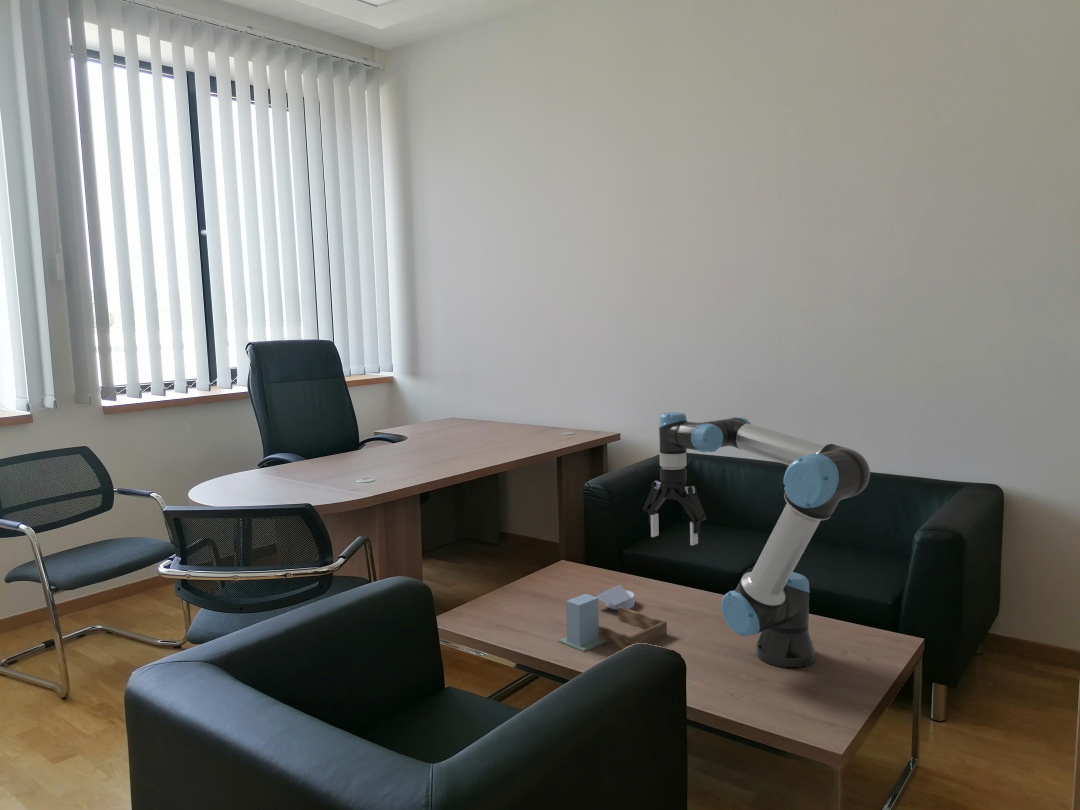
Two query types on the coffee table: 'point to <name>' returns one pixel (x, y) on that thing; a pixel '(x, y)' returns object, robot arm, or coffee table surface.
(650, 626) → the shelf bay
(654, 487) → the robot arm
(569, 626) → the block
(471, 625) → the coffee table surface
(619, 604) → the wedge on round base
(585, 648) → the felt pad
